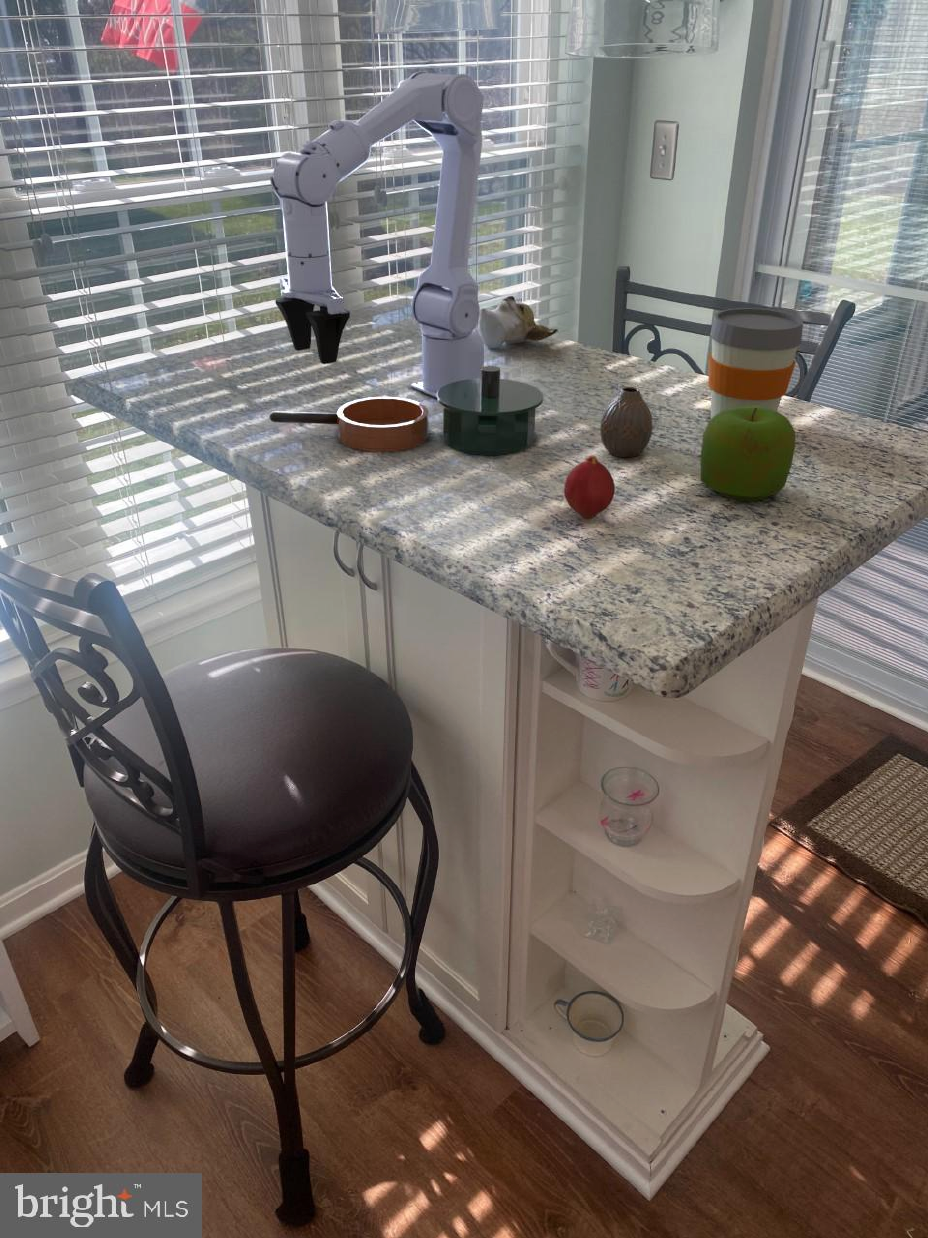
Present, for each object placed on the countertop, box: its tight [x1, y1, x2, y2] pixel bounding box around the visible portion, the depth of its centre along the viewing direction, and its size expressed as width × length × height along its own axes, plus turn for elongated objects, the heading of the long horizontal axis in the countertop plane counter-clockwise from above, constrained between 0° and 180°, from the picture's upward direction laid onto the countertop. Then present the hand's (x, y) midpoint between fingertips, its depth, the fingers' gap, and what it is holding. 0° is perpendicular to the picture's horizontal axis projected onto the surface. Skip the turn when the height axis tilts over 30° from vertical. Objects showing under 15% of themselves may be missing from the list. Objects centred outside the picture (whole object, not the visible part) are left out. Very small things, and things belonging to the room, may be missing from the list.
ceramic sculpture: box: [477, 295, 559, 349], centre depth 178 cm, size 11×9×15 cm
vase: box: [600, 386, 654, 458], centre depth 132 cm, size 7×7×9 cm
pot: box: [442, 405, 537, 456], centre depth 137 cm, size 13×18×6 cm
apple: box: [700, 406, 796, 502], centre depth 121 cm, size 11×11×11 cm
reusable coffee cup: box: [708, 307, 804, 420], centre depth 142 cm, size 12×13×15 cm
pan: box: [336, 396, 430, 453], centre depth 138 cm, size 13×13×4 cm
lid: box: [436, 365, 544, 416], centre depth 134 cm, size 15×15×5 cm
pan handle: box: [269, 410, 337, 425], centre depth 138 cm, size 10×2×2 cm, turn 86°
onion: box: [563, 454, 616, 520], centre depth 114 cm, size 6×6×8 cm
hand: (315, 355), depth 137 cm, fingers open, 7 cm apart
